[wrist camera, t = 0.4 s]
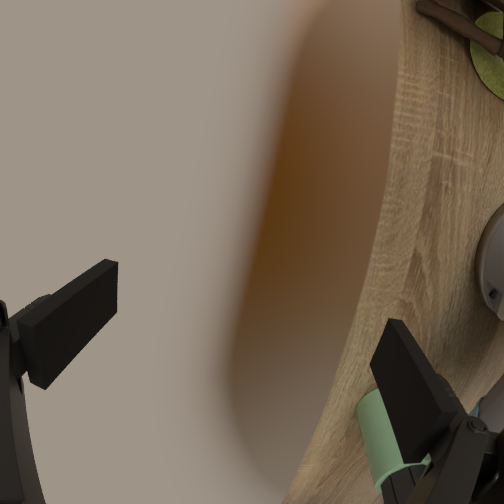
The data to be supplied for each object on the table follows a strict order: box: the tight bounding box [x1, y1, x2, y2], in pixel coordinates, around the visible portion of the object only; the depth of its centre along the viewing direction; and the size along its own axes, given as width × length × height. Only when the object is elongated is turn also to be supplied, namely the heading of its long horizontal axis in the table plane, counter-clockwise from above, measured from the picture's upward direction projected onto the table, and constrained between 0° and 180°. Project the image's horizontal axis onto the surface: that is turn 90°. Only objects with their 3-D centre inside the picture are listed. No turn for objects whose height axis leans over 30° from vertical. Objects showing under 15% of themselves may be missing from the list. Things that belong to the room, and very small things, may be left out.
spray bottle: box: [356, 389, 431, 493], centre depth 30 cm, size 7×7×17 cm
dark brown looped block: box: [416, 0, 504, 58], centre depth 17 cm, size 8×16×13 cm
